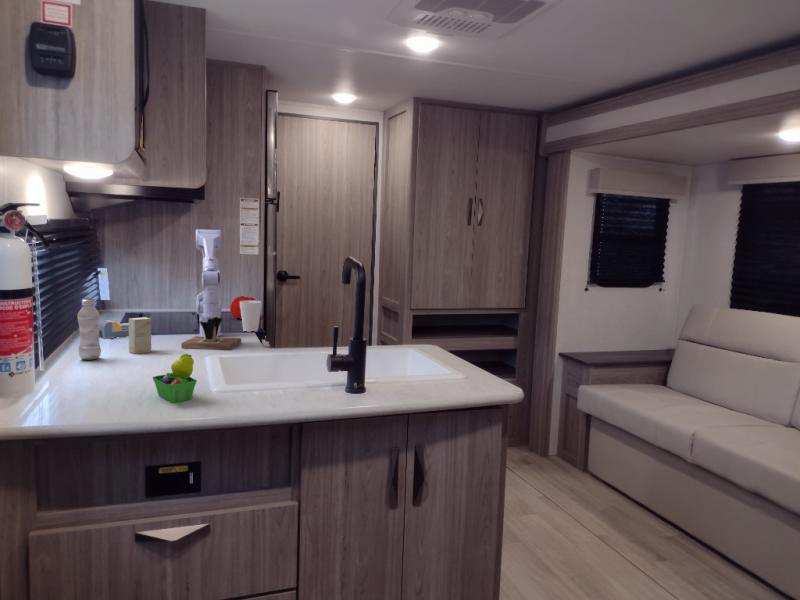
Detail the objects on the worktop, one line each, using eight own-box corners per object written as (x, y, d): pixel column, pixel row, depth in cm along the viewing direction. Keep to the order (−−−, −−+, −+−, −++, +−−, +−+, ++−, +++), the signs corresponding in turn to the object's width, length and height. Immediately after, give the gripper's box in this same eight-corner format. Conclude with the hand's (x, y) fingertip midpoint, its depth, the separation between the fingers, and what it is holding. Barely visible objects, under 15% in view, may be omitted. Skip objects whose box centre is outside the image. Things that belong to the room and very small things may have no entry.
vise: (106, 340, 220) (106, 323, 219) (95, 336, 226) (94, 320, 225) (151, 335, 233) (151, 319, 233) (139, 331, 240) (139, 316, 239)
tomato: (262, 320, 281) (262, 297, 280) (233, 321, 274) (233, 297, 272) (254, 316, 292) (255, 294, 291) (227, 317, 285) (227, 294, 284)
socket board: (196, 341, 223) (196, 335, 223) (241, 343, 223) (241, 337, 223) (181, 348, 210) (181, 342, 209) (229, 350, 209) (229, 344, 209)
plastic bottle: (91, 362, 183) (90, 301, 181) (73, 360, 185) (71, 299, 182) (105, 358, 190) (104, 299, 187) (88, 356, 191) (86, 297, 189)
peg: (207, 342, 217) (207, 326, 217) (217, 342, 217) (217, 326, 216) (202, 343, 213) (202, 328, 213) (213, 344, 213) (212, 328, 212)
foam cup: (239, 329, 254) (239, 300, 253) (260, 328, 257) (260, 300, 255) (240, 332, 245) (240, 303, 244) (261, 332, 248) (262, 303, 246)
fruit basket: (151, 395, 150) (150, 353, 149) (184, 389, 156) (183, 349, 155) (169, 405, 142) (168, 361, 141) (202, 399, 148) (202, 356, 147)
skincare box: (134, 354, 197) (134, 319, 196) (128, 352, 200) (127, 318, 198) (152, 351, 202) (151, 318, 201) (145, 349, 205) (145, 316, 203)
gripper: (207, 300, 221) (207, 334, 222) (193, 304, 206) (193, 341, 208) (225, 300, 220) (225, 335, 222) (212, 305, 206) (212, 341, 208)
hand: (211, 338), depth 215 cm, fingers closed on peg, 4 cm apart
